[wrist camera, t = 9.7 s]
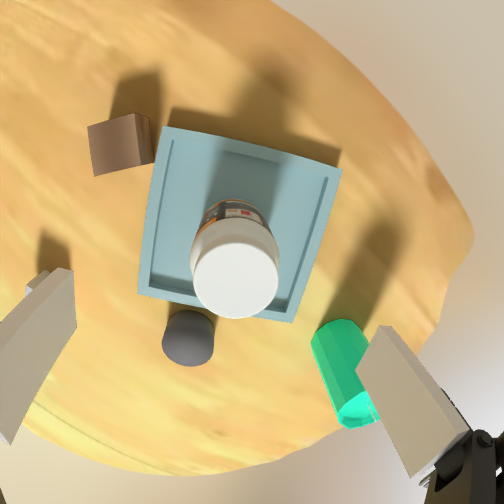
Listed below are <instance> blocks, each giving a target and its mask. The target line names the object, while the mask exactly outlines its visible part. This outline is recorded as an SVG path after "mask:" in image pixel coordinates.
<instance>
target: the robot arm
mask: <svg viewBox="0 0 504 504" xmlns="http://www.w3.org/2000/svg"><path fill="white" fill-rule="evenodd" d="M76 328H77V322H76V311H75V297H74V273H73V271H70V270H67V269H63V268H59V267H58V268H57V269H55V270H54V271H53V272H52V273H51V274H50V275H49V276H48V277H46V278H45V279H44V280H43V281H42V282H41V283H40V284H39V285H38V286H37V287H36V288H35V289H33V290H32V291H31V292H30V293H29V294H28V295H27V296H26V297H25V298H24V299H23V300H22V301H21V302H20V303H19V304H18V305H17V306H16V307H15V308H14V309H13V310H12V311H11V312H10V313H9V314H8V315H7V316H6V317H5V318H4V319H3V320H2V321H1V322H0V440H2V441H3V442H5V443H7V444H8V445H10V446H11V443H12V441H13V439H14V437H15V435H16V433H17V431H18V429H19V427H20V425H21V423H22V421H23V419H24V417H25V415H26V413H27V411H28V409H29V407H30V405H31V403H32V401H33V399H34V398H35V396H36V394H37V392H38V390H39V388H40V387H41V385H42V383H43V381H44V380H45V378H46V376H47V375H48V373H49V371H50V369H51V368H52V366H53V364H54V363H55V361H56V360H57V358H58V356H59V355H60V353H61V351H62V350H63V348H64V347H65V345H66V344H67V342H68V340H69V339H70V337H71V336H72V334H73V333H74V331H75V330H76ZM355 371H356V373H357V375H358V377H359V379H360V380H361V382H362V384H363V386H364V388H365V390H366V392H367V394H368V396H369V397H370V399H371V401H372V403H373V405H374V407H375V409H376V411H377V413H378V415H379V417H380V419H381V421H382V422H383V424H384V426H385V428H386V430H387V432H388V434H389V436H390V438H391V440H392V442H393V444H394V446H395V448H396V450H397V452H398V454H399V456H400V458H401V460H402V462H403V464H404V466H405V469H406V470H407V473H408V475H409V477H410V478H412V477H415V476H418V475H421V474H423V473H425V472H426V471H427V470H428V469H429V468H430V467H432V466H433V465H434V466H435V468H436V469H435V470H434V471H433V472H431V473H430V474H429V475H428V476H427V477H425V478H424V479H423V480H422V481H421V482H420V484H419V486H421V485H423V484H424V483H425V482H426V481H428V480H430V481H429V482H428V483H427V484H425V485H424V487H426V488H428V490H427V494H426V499H425V503H424V504H504V432H503V433H502V434H501V435H500V436H499V437H498V438H492V437H491V436H490V435H489V434H488V433H487V432H485V431H484V430H479V429H478V430H475V431H473V430H472V429H471V427H470V426H469V425H468V423H467V422H466V420H465V419H464V417H463V416H462V415H461V413H460V412H459V410H458V409H457V408H456V407H455V405H454V404H453V402H452V401H450V398H449V397H448V395H447V394H446V393H445V391H444V390H443V389H441V388H440V387H439V386H438V385H437V383H436V382H435V380H434V379H433V378H432V376H431V375H430V374H429V373H428V371H427V370H426V369H425V367H424V366H423V365H422V364H421V362H420V361H419V360H418V359H417V357H416V356H415V355H414V353H413V352H412V351H411V350H410V348H409V347H408V346H407V345H406V343H405V342H404V341H403V340H402V339H401V337H400V336H399V335H398V334H397V332H396V331H395V330H394V329H393V328H392V326H381V325H379V327H378V329H377V331H376V333H375V335H374V337H373V339H372V341H371V342H370V344H369V346H368V348H367V350H366V352H365V354H364V355H363V357H362V359H361V361H360V362H359V364H358V366H357V368H356V369H355ZM500 467H501V468H502V472H501V473H500V474H499V475H498V476H497V477H496V470H497V469H499V468H500ZM0 504H6V502H5V499H4V497H3V494H2V491H1V489H0Z"/></svg>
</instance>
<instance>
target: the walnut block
mask: <svg viewBox="0 0 504 504" xmlns="http://www.w3.org/2000/svg"><path fill="white" fill-rule="evenodd" d="M87 128H88V137H89V145H90V153H91V160H92V166H93V173H94V177H95V176H98V175H102V174H106V173H110V172H114V171H119V170H123V169H127V168H132V167H136V166H141V165H145V164H150V163H154V156H153V149H152V142H151V134H150V125H149V118H147V117H144V116H142V115H139V114H136V113H133V114H129V115H125V116H121V117H118V118H114V119H111V120H107V121H104V122H101V123H98V124H94V125H91V126H88V127H87Z"/></svg>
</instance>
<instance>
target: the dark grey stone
mask: <svg viewBox="0 0 504 504" xmlns="http://www.w3.org/2000/svg"><path fill="white" fill-rule="evenodd" d="M162 348H163V351H164V353H165V354H166V356H167V357H168V358H169V359H170V360H172V361H173V362H175V363H177V364H180V365H183V366H199V365H202V364H204V363H206V362H207V361H208V360H209V359H210V358H211V356H212V354H213V348H214V326H213V324H212V322H211V321H210V319H209V318H208V317H206V316H205V315H204V314H202V313H200V312H197V311H192V310H184V311H180V312H177V313H175V314H174V315H172V316H171V318H170V319H169V321H168V323H167V326H166V330H165V333H164V336H163V339H162Z"/></svg>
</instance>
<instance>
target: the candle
mask: <svg viewBox="0 0 504 504" xmlns="http://www.w3.org/2000/svg"><path fill="white" fill-rule="evenodd" d="M369 344H370V343H369V342H368V340H367V339H366V337H365V336H364V334H363V333H362V331H361V329H360V328H359V327H358V326H357V325H356V324H355V323H354V322H353V321H352V320H347V319H337V320H334V321H331V322H328V323H326V324H325V325H324V326H322V327H321V328H320V329H319V330H318V331H317V332H316V333H315V335H314V337H313V340H312V342H311V347H312V351H313V355H314V357H315V360H316V362H317V365H318V368H319V370H320V373H321V376H322V378H323V381H324V384H325V386H326V389H327V392H328V394H329V397H330V400H331V402H332V405H333V408H334V410H335V413H336V416H337V419H338V421H339V423H340V424H341V425H343V426H344V427H346V428H348V429H352V428H357V427H362V426H365V425H368V424H371V423H373V422H376V421H378V420H379V419H380V417H379V415H378V413H377V411H376V409H375V407H374V405H373V403H372V401H371V399H370V397H369V396H368V394H367V392H366V390H365V388H364V386H363V384H362V382H361V380H360V379H359V377H358V375H357V373H356V371H355V369H356V368H357V366H358V364H359V362H360V361H361V359H362V357H363V355H364V354H365V352H366V350H367V348H368V346H369Z"/></svg>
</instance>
